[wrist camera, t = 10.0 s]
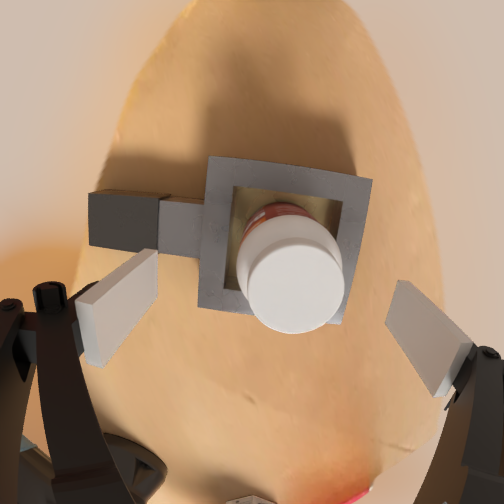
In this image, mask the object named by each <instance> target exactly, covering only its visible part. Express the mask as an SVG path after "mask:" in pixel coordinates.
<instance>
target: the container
mask: <svg viewBox="0 0 504 504" xmlns="http://www.w3.org/2000/svg"><path fill="white" fill-rule="evenodd" d="M226 504H275V503H273V502H270V501H267V500H265V499H262V498H259V497H257V496H254V495H251V496H247V497H243V498H239V499H235V500H230V501H227V502H226Z"/></svg>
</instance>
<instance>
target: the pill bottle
mask: <svg viewBox="0 0 504 504" xmlns="http://www.w3.org/2000/svg"><path fill="white" fill-rule="evenodd" d="M236 272H237V279H238V282H239V286H240V288H241V291H242V293H243V294H244V296H245V297H246V299H247V300H248V301H249V304H250V307H251V309H252V311H253V313H254V314H255V316H256V317H257V318H258V319H259V320H260V321H261V322H262V323H263V324H264V325H266V326H267V327H269V328H271V329H273V330H276V331H279V332H283V333H289V334H296V333H304V332H308V331H311V330H314V329H316V328H318V327H320V326H322V325H323V324H325V323H326V322H327V321H328V320H329V319H330V318H331V317H332V316H333V315H334V314H335V313H336V311H337V310H338V308H339V306H340V304H341V302H342V299H343V295H344V286H345V283H344V277H343V273H342V258H341V253H340V250H339V247H338V245H337V243H336V241H335V239H334V238H333V236H332V235H331V234H330V233H329V232H328V230H327V229H326V228H325V227H324V226H323V225H321V224H320V223H319V222H318V221H317V220H316V219H315V218H314V217H313V216H312V215H311V214H310V213H309V212H307V211H306V210H305V209H304V208H302V207H300V206H298V205H296V204H294V203H290V202H283V201H282V202H273V203H269V204H267V205H264V206H262V207H261V208H259V209H258V210H257V211H255V212H254V213H253V214H252V216H251V217H250V218H249V220H248V221H247V223H246V226H245V228H244V232H243V236H242V240H241V242H240V247H239V251H238V256H237V264H236Z"/></svg>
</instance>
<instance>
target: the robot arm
mask: <svg viewBox="0 0 504 504" xmlns="http://www.w3.org/2000/svg"><path fill="white" fill-rule="evenodd" d="M157 268H158V250H153V249H146V248H144V249H143V250H142V251H140V252H139V253H137V254H136V255H135V256H133V257H132V258H130V259H129V260H128V261H126V262H125V263H123V264H122V265H121V266H119V267H118V268H117V269H115V270H114V271H113V272H111V273H110V274H109V275H107V276H106V277H104V278H103V279H102V280H100V281H96V282H93V283H90V284H88V285H87V286H85V287H84V288H83V289H82V290H80V291H79V292H77V294H75V295H73V296H72V297H71V298H69V299H68V300H67V295H66V287H65V285H64V284H63V283H60V282H55V281H51V282H44V283H41V284H38V285H37V286H35V287H34V288H33V296H34V302H35V306H36V311H37V312H36V313H35V312H24V308H23V303H22V302H21V301H20V300H19V299H10V298H7V299H4V300H2V301H1V302H0V504H147V502H148V500H149V499H150V498H151V497H152V496H153V495H154V493H155V492H156V491H157V490H158V489H159V488H160V487H161V485H162V484H163V483H164V481H165V478H166V475H167V468H166V466H165V464H164V463H163V462H162V461H161V460H160V459H159V458H158V457H156V456H155V455H154V454H152V453H151V452H149V451H148V450H146V449H145V448H143V447H141V446H139V445H137V444H135V443H133V442H131V441H129V440H126V439H124V438H121V437H118V436H115V435H110V434H103V433H102V431H101V428H100V425H99V423H98V420H97V417H96V414H95V411H94V408H93V405H92V402H91V399H90V396H89V393H88V390H87V386H86V383H85V379H84V376H83V372H82V368H81V364H80V361H79V356H80V355H81V354H82V353H83V352H84V354H85V359H86V363H87V364H90V365H93V366H96V367H99V368H102V369H103V368H104V367H105V365H106V364H107V363H108V361H109V360H110V359H111V357H112V356H113V355H114V353H115V352H116V351H117V349H118V348H119V347H120V345H121V344H122V343H123V341H124V340H125V339H126V337H127V336H128V335H129V333H130V332H131V331H132V329H133V328H134V327H135V326H136V324H137V323H138V322H139V320H140V319H141V318H142V317H143V315H144V314H145V313H146V311H147V310H148V309H149V308H150V306H151V305H152V304H153V302H154V301H155V300H156V299H157V297H158V290H157ZM385 324H386V326H387V327H388V329H389V330H390V332H391V333H392V335H393V336H394V338H395V339H396V341H397V342H398V344H399V345H400V347H401V348H402V350H403V351H404V353H405V354H406V356H407V357H408V359H409V360H410V362H411V363H412V365H413V366H414V368H415V370H416V371H417V373H418V374H419V376H420V377H421V379H422V381H423V382H424V384H425V386H426V387H427V389H428V390H429V392H430V394H431V395H432V397H433V398H435V397H442V396H446V395H447V393H448V391H449V389H450V388H451V386H452V385H453V386H454V387H455V389H456V391H455V393H454V394H453V396H452V398H451V399H450V401H449V402H448V404H447V406H446V407H445V409H444V410H447V408H449V410H448V414H447V417H446V421H445V424H444V427H443V431H442V434H441V437H440V440H439V443H438V446H437V449H436V452H435V454H434V457H433V460H432V462H431V465H430V467H429V470H428V472H427V475H426V477H425V480H424V482H423V484H422V486H421V488H420V491H419V493H418V495H417V497H416V499H415V501H414V503H413V504H504V360H501V356H500V355H499V353H498V352H497V351H495V350H494V349H493V348H490V347H487V346H480V347H477V346H476V345H475V344H474V342H473V341H472V340H471V339H470V338H469V337H468V336H467V335H466V334H465V333H464V332H463V331H462V330H461V329H460V328H459V327H458V326H457V325H456V324H455V323H454V322H453V321H452V320H451V319H450V318H449V317H448V316H447V315H446V314H445V313H444V312H442V311H441V310H440V309H439V308H438V307H437V306H436V305H435V304H434V303H433V302H432V301H431V300H430V299H428V298H427V297H426V296H425V295H424V294H423V293H422V292H421V291H420V290H419V289H417V288H416V287H415V286H414V285H413V284H412V283H411V282H409V281H404V280H398V281H397V285H396V289H395V292H394V295H393V299H392V302H391V305H390V308H389V312H388V315H387V318H386V321H385ZM36 365H37V373H38V385H39V395H40V403H41V411H42V417H43V422H44V429H45V434H46V439H47V444H48V449H49V453H50V457H51V458H50V457H49V456H47V455H46V454H45V453H44V452H43V451H41V450H40V449H39V448H38V446H37V445H36V444H33V443H32V442H31V441H30V440H28V439H27V438H26V437H25V436H24V435H22V432H23V425H24V419H25V413H26V407H27V403H28V398H29V394H30V389H31V385H32V381H33V377H34V373H35V369H36Z"/></svg>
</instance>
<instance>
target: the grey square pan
mask: <svg viewBox="0 0 504 504" xmlns="http://www.w3.org/2000/svg"><path fill="white" fill-rule="evenodd" d="M372 180H373V179H368V178H363V177H358V176H353V175H348V174H343V173H338V172H332V171H326V170H321V169H315V168H308V167H302V166H295V165H288V164H281V163H274V162H266V161H258V160H249V159H239V158H229V157H218V156H209V159H208V168H207V178H206V188H205V199H204V200H203V199H193V198H182V197H172V196H171V194H162V193H150V192H137V191H122V190H101V191H96V192H92V193H89V195H88V226H89V245H90V246H96V247H103V248H109V249H116V250H122V251H129V252H136V253H139V252H140V251H142V250H143V249H144V248H146V249H153V250H158V254H159V253H164V254H171V255H178V256H185V257H192V258H199V259H200V268H199V286H198V307H200V308H206V309H213V310H219V311H226V312H233V313H240V314H248V315H255V314H254V313H253V311H252V309H251V307H250V304H249V301H248V300H247V299H246V297H245V296H244V294H243V293H242V291H241V288H240V286H239V282H238V279H237V272H236V264H237V256H238V251H239V247H240V242H241V240H242V236H243V232H244V228H245V226H246V223H247V221H248V220H249V218H250V217H251V216H252V214H253V213H254V212H255V211H257V210H258V209H259V208H261V207H262V206H264V205H267V204H269V203H273V202H282V201H283V202H290V203H294V204H296V205H298V206H300V207H302V208H304V209H305V210H306V211H307V212H309V213H310V214H311V215H312V216H313V217H314V218H315V219H316V220H317V221H318V222H319V223H320V224H321V225H323V226H324V227H325V228H326V229H327V230H328V232H329V233H330V234H331V235H332V236H333V238H334V239H335V241H336V243H337V245H338V247H339V250H340V253H341V258H342V273H343V277H344V283H345V286H344V295H343V299H342V302H341V304H340V306H339V308H338V310H337V311H336V313H335V314H334V315H333V316H332V317H331V318H330V319H329V320H328V321H327V322H326V323H329V324H341V322H342V318H343V315H344V311H345V308H346V304H347V300H348V297H349V293H350V289H351V285H352V281H353V277H354V273H355V268H356V264H357V260H358V255H359V251H360V246H361V241H362V237H363V232H364V227H365V221H366V216H367V211H368V205H369V199H370V193H371V187H372Z"/></svg>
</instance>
